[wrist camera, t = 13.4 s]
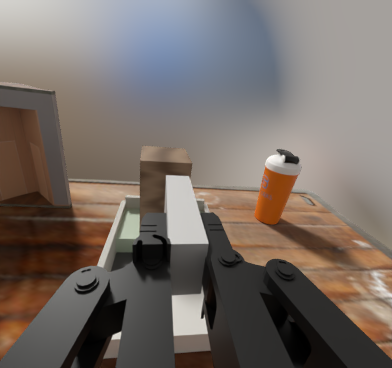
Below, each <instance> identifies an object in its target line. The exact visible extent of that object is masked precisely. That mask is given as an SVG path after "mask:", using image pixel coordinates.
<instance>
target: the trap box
mask: <svg viewBox="0 0 392 368" xmlns="http://www.w3.org/2000/svg"><path fill="white" fill-rule="evenodd" d="M125 199H126V201H123V200H122V202H121V204H120V207H119V210H118V212H117V215H116V218H115V220H114V223H113V225H112V228H111V231H110V233H109V236H108V239H107V241H106V244H105V246H104V249H103V252H102V254H101V257H100V259H99V262H98V265H97V266H99V267H102V268H104V269H105V270H106V271H107V272H112V271H115V270H119V269H121V268H124V267H125V266H127V265H129V264H130V263H131V262H132V261H133V251H132V244H133V242H134V240H135V239H136V238H137V237H139V228H140V196H132V195H126V197H125ZM196 202H197V205H198V209H199V212H207V213H210V212H209V209H208V206H207V204H204V199H196ZM203 299H204V293H203V287H202V289H201V294H190V295H173V296H172V312H173V333H174V353H185V352H198V351H211V348H210V343H209V337H208V332H207V326H206V321H205V315H204V318H203V319H201V310H202V304H203ZM121 332H122V331H121ZM121 332H119V333H116V334H114V335H113V336H112V339H111V341H110V343H109V346H108V348H107V350H106V353H105V355H104V357H103V359H105V358H117V356H118V350H119V344H120V338H121Z"/></svg>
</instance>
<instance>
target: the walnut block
mask: <svg viewBox="0 0 392 368" xmlns="http://www.w3.org/2000/svg"><path fill="white" fill-rule="evenodd" d="M191 169H192V162H191V160H190V158H189V156H188V154H187V152H186V150H185V149H180V148H166V147H150V146H142V152H141V160H140V228H141V222H142V218H143V217H144V216H145V214H146V213H164V208H165V186H166V175H174V176H189V178H190V177H191ZM140 228H139V234H140Z"/></svg>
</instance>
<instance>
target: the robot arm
mask: <svg viewBox="0 0 392 368" xmlns="http://www.w3.org/2000/svg"><path fill="white" fill-rule="evenodd" d="M132 251H133V261H132V262H131V263H130V264H129V265H127V266H125V267H124V268H121V269H119V270H115V271H112V272H107V271H106V270H105V269H104V268H102V267H99V266H88V267H84V268H81V269H79V270H77V271H75V272H74V273H72V274H71V275H70V276H69V277H68V278H67V279H66V280H65V281H64V283H63V284H62V285H61V286H60V288H59V289H58V290H57V291H56V293H55V294H54V295H53V296H52V298H51V299H50V300H49V301H48V302H47V304H46V305H45V306H44V307H43V309H42V310H41V311H40V312H39V314H38V315H37V316H36V317H35V319H34V320H33V321H32V322H31V324H30V325H29V326H28V327H27V328H26V330H25V331H24V332H23V333H22V335H21V336H20V337H19V338H18V340H17V341H16V342H15V343H14V345H13V346H12V347H11V348H10V350H9V351H8V352H7V353H6V355H5V356H4V357H3V358H2V359H1V361H0V368H99V367H100V364H101V362H102V360H103V357H104V355H105V353H106V350H107V348H108V346H109V343H110V341H111V339H112V336H113V335H114V334H116V333H119V332H121V331H122V332H121V338H120V344H119V350H118V356H117V362H116V368H175V355H174V333H173V312H172V296H173V295H190V294H201V289H202V287H203V293H204V299H203V304H202V310H201V319H203V318H204V315H205V321H206V326H207V332H208V337H209V343H210V348H211V354H212V360H213V365H214V368H392V359H391V358H389V357H388V356H387V355H386V354H385V353H384V352H383V351H382V350H381V349H380V348H379V347H378V346H377V345H376V344H375V343H374V342H373V341H372V340H371V339H370V338H369V337H368V336H367V335H366V334H365V333H364V332H363V331H362V330H361V329H360V328H359V327H358V326H356V325H355V324H354V323H353V322H352V321H351V320H350V319H349V318H348V317H347V316H346V315H345V314H344V313H343V312H342V311H341V310H340V309H339V308H338V307H337V306H336V305H335V304H334V303H333V302H332V301H331V300H330V299H329V298H328V297H327V296H326V295H325V294H323V293H322V292H321V291H320V290H319V289H318V288H317V287H316V286H315V285H314V284H313V283H312V282H311V281H310V280H309V279H308V278H307V277H306V276H305V275H304V274H303V273H302V272H301V271H300V270H299V269H298V268H296V267H295V266H294V265H293V264H291V263H289V262H287V261H285V260H281V259H272V260H270V261H268V262H267V264H266V267H264V266H259V265H255V264H251V263H248V262H246V261H244V259H243V257H242V256H241V255H240V254H239V253H238V252H236V251H235V250H233V249H232V247H231V244H230V242H229V240H228V237H227V235H226V233H225V231H224V228H223V226H222V223H221V221H220V219H219V217H218V216H216V215H215V214H214V213H207V212H199V209H198V205H197V202H196V198H195V195H194V192H193V188H192V185H191V181H190V178H189V176H174V175H166V186H165V208H164V213H146V214H145V216H144V217H143V218H142V222H141V228H140V234H139V237H137V238H136V239H135V240H134V242H133V244H132Z"/></svg>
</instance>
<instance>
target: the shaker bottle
mask: <svg viewBox="0 0 392 368" xmlns="http://www.w3.org/2000/svg"><path fill="white" fill-rule="evenodd" d="M277 151H278V152H279V153H278V155H273V156H270V157H269V158H267V160H266V163H265V171H264V175H263V180H262V184H261V188H260V192H259V196H258V201H257V205H256V209H255V217H256V218H257V219H258V220H259V221H261V222H263V223H266V224H277V223H278V222H279V219H280V217H281V215H282V212H283V210H284V207H285V205H286V203H287V200H288V198H289V195H290V193H291V191H292V188H293V186H294V183H295V181H296V179H297V176H298V175H299V174H300V171H301V168H302V167H301V164H300V158H299V157H297V156H294V155H293V154H292V153H291V152H289V151H286V150H281V149H277Z"/></svg>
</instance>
